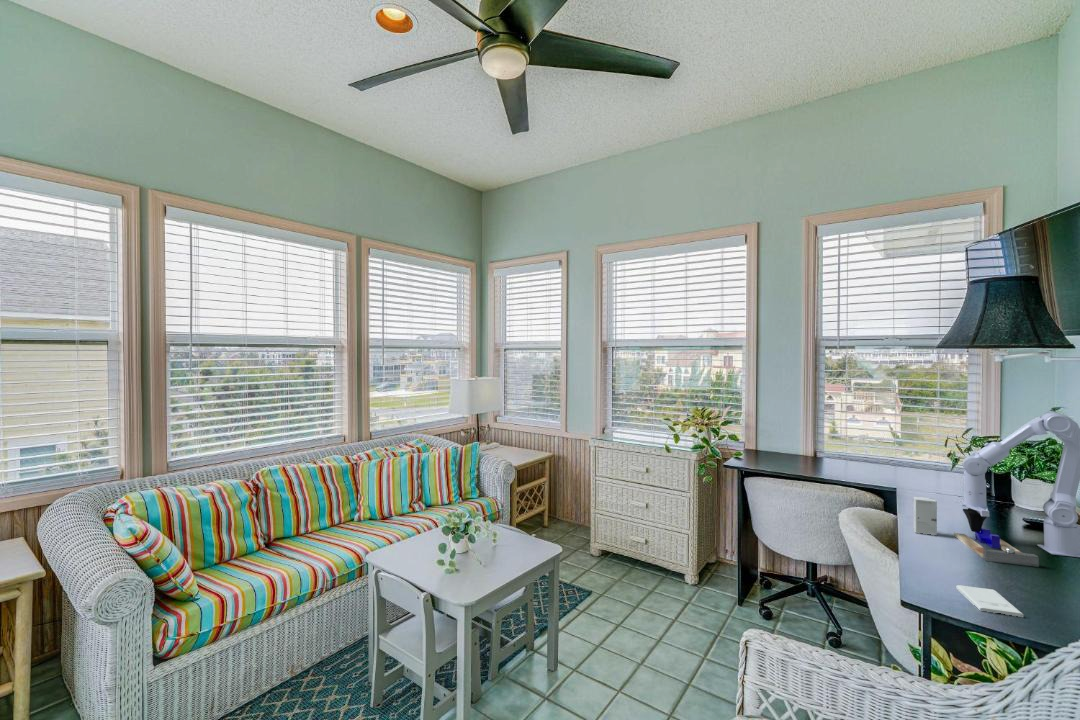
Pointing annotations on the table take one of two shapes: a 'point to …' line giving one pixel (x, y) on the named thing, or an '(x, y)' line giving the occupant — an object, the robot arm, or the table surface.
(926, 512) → the skincare box
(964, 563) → the table surface
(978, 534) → the cable holder
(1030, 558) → the block
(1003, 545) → the birch track
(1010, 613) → the external hard drive
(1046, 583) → the table surface
